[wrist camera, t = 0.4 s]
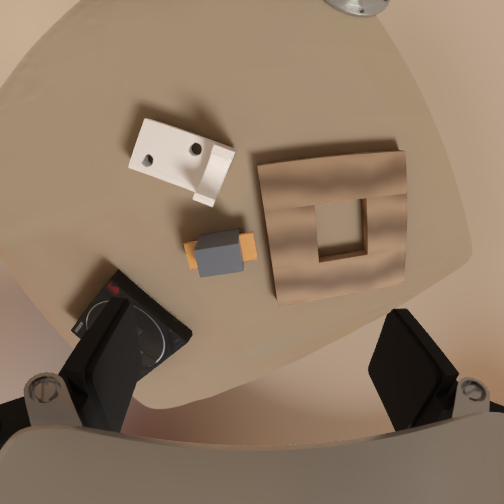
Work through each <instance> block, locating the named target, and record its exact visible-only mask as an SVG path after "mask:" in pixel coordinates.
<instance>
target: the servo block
mask: <svg viewBox="0 0 504 504" xmlns="http://www.w3.org/2000/svg"><path fill="white" fill-rule="evenodd" d="M184 248H185V252H186V255H187V259H188V263H189V267H190V269H195V268H198V270H199V274H200V277H207V276H213V275H220V274H227V273H234V272H240V271H244V261H248V260H254V259H257V253H256V247H255V241H254V234H253V232H247V233H241V234H240V231H239V229H236V230H230V231H224V232H217V233H211V234H205V235H200V236H199V238H198V241H192V242H186V243H184Z"/></svg>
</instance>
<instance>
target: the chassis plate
mask: <svg viewBox="0 0 504 504" xmlns="http://www.w3.org/2000/svg"><path fill="white" fill-rule="evenodd" d="M257 169H258V175H259V182H260V188H261V195H262V201H263V208H264V214H265V221H266V227H267V234H268V241H269V248H270V254H271V261H272V268H273V275H274V282H275V289H276V297H277V303H278V306H283V305H289V304H295V303H301V302H307V301H313V300H319V299H324V298H330V297H335V296H341V295H346V294H351V293H357V292H362V291H367V290H372V289H377V288H381V287H386V286H391V285H396V284H400V283H404V272H405V257H406V237H407V178H406V157H405V151H401V150H390V151H374V152H360V153H348V154H337V155H327V156H317V157H309V158H300V159H292V160H285V161H277V162H270V163H263V164H257ZM356 199H362V213H363V250H359V251H353V252H347V253H341V254H335V255H328V256H322V257H318V244H317V232H316V221H315V210H314V205H317V204H325V203H332V202H340V201H348V200H356Z"/></svg>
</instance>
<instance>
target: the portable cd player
mask: <svg viewBox="0 0 504 504" xmlns="http://www.w3.org/2000/svg"><path fill="white" fill-rule="evenodd" d="M112 296H116V297H125V298H128V299H129V302H132V303H133V304H134V310H135V317H136V325H137V331H138V338H139V344H140V350H141V356H142V369H141V372H140V374H139V377H138V380H137V382H138V381H139V380H140V379H141V378H143V377H144V376H145V375H147V374H148V373H149V372H151V371H152V370H153V369H154V368H156V367H157V366H158V365H160V364H161V363H162V362H163V361H165V360H166V359H167V358H169V357H170V356H171V355H172V354H174V353H175V352H176V351H177V350H179V349H180V348H181V347H182V346H184V345H185V344H186V343H188V341H189V340H190V338H191V337H192V335H193V334H192V331H191V330H190V329H189V328H188V327H186V326H185V325H184V324H183V323H181V322H180V321H179V320H178V319H176V318H175V317H174V316H173V315H171V314H170V313H169V312H168V311H166V310H165V309H164V308H163V307H162V306H160V305H159V304H158V303H157V302H156V301H154V300H153V299H152V298H151V297H150V296H149V295H147V294H146V293H145V292H144V291H143V290H142V289H140V288H139V287H138V286H137V285H136V284H135V283H134V282H132V281H131V280H130V279H129V278H128V277H127V276H126V275H125V274H123V273H122V272H121V271H120V270H119V269H118V270H117V272H116V273H115V274H114V275H113V277H112V278H111V279H110V280H109V281H108V283H107V284H106V285H105V286H104V288H103V289H102V290H101V291H100V293H99V294H98V295H97V296H96V298H95V299H94V300H93V301H92V303H91V304H90V305H89V307H88V308H87V309H86V310H85V312H84V313H83V314H82V316H81V317H80V318H79V320H78V321H77V322H76V324H75V325H74V327H73V328H72V329H71V331H72V332H73V333H74V334H75V335H76V336H78V337H79V338H80V339H81V338H82V337H83V335H84V334H85V332H86V331H87V330H88V329H90V327H91V326H92V324H93V323H94V321H95V320H96V319H97V317H98V316H99V314H100V313H101V311H102V310H103V308H104V307H105V306H106V304H107V303H108V301H109V300H110V299H111V297H112Z"/></svg>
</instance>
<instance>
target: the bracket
mask: <svg viewBox="0 0 504 504" xmlns="http://www.w3.org/2000/svg"><path fill="white" fill-rule="evenodd" d="M194 143H198V144H200V145H201V147H202V151H201V153H200V154H199V155H197V154H194V153H193V152H192V145H193V144H194ZM235 151H236V149H234V148H232V147H229V146H227V145H224V144H221V143H219V142H216V141H213V140H211V139H208V138H205V137H203V136H200V135H197V134H194V133H191V132H189V131H186V130H183V129H180V128H177V127H174V126H171V125H168V124H165V123H162V122H159V121H156V120H153V119H148V118H145V119H144V122H143V124H142V127H141V130H140V133H139V135H138V138H137V141H136V144H135V147H134V150H133V153H132V156H131V160H130V163H129V166H128V168H131V169H134V170H136V171H139V172H142V173H145V174H148V175H150V176H153V177H156V178H159V179H161V180H164V181H167V182H170V183H172V184H175V185H178V186H180V187H183V188H186V189H188V190H191V191H194V192H195V194H194V197H193V200H195V201H198V202H200V203H203V204H205V205H208V206H211V207H213V205H214V203H215V200H216V198H217V195H218V193H219V190H220V188H221V185H222V183H223V180H224V178H225V176H226V173H227V171H228V168H229V166H230V163H231V161H232V159H233V156H234V154H235ZM149 155H151V156H152V157H153V164H151V163H150V162H149V160H148V157H149Z"/></svg>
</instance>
